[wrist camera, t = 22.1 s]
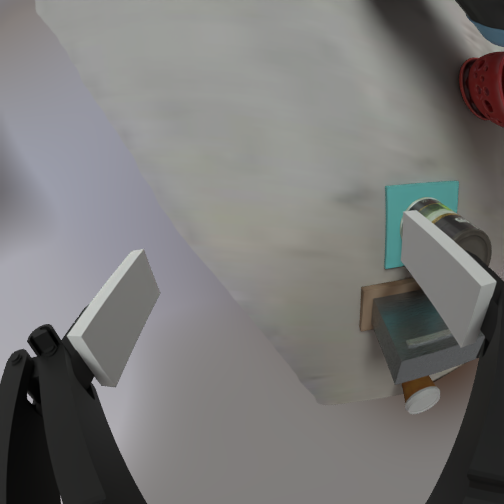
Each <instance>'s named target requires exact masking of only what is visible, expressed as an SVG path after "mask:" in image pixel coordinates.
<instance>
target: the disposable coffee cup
mask: <svg viewBox="0 0 504 504" xmlns="http://www.w3.org/2000/svg"><path fill="white" fill-rule="evenodd" d="M402 388H403V392H404V398H405V403H406V404H405V409H406V410H407V411H408V412H409V413H410V414H418V413H421V412H424V411H426V410H428V409H429V408H431V407H432V406H433V405H435V404H436V403H437V402H438V400H439V398H440V390H439V389H438V388H437V387H436V386H435V385H434V383H433V381H432V380H431V378H430V377H429V375H428V376H425V377H421V378H418V379H414V380H411V381H407V382H404V383H402Z"/></svg>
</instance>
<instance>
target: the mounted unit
mask: <svg viewBox="0 0 504 504" xmlns="http://www.w3.org/2000/svg"><path fill="white" fill-rule="evenodd" d="M359 327H360V330H361V331H366V330H371V329H374V331H375V333H376V336H377V338H378V341H379V343H380V346H381V348H382V351H383V354H384V356H385V359H386V361H387V364H388V367H389V369H390V372H391V375H392V378H393V380H394V383H395V385H396V384H400V383H404V382H407V381H411V380H414V379H418V378H421V377H425V376H428V375H431V374H434V373H437V372H440V371H443V370H446V369H449V368H452V367H455V366H458V365H460V364H463V363H466V362H468V361H471V360H474V359H476V356H477V354H478V352H479V350H480V347H481V345H482V343H483V340H484V338H485V336H484V335H483V333H482V332H481V330H480V333H479V335H478V338H477V340H476V343H473V344H470V345H467V346H465V347H462V348H461V347H460V346H459V344H458V343H457V341H456V339H455V338H454V336H453V334H452V333H451V331H450V330H449V328H448V327H447V325H446V324H445V322H444V320H443V319H442V317H441V316H440V314H439V313H438V311H437V310H436V308H435V307H434V306H433V304H432V303H431V301H430V300H429V298H428V297H427V295H426V294H425V293H424V291H423V290H422V288H421V287H420V286H419V284H418V283H417V282H416V280H415V279H414V278H409V279H404V280H399V281H393V282H388V283H382V284H377V285H371V286H365V287H361V309H360V325H359ZM479 357H480V356H479Z"/></svg>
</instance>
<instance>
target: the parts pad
mask: <svg viewBox="0 0 504 504" xmlns="http://www.w3.org/2000/svg"><path fill="white" fill-rule="evenodd" d="M458 188H459V182H458V181H442V182H428V183H415V184H403V185H392V186H385V193H386V238H385V263H384V267H385V269H389V268H395V267H400V266H405V265H404V264H403V263H402V262H401V251H402V239H401V235H400V223H401V219H402V217H403V212H404V211H406V209H407V208H408V207H409V206H410V205H411V204H412V203H413V202H414V201H416V200H418V199H420V198H424V197H431V198H435V199H437V200H438V201H440V202H441V203H442V204H444V205H445V206H447V207H448V208H449V209H451V210H452V211H454V212H455V213H457V205H458Z"/></svg>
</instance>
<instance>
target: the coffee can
mask: <svg viewBox="0 0 504 504" xmlns="http://www.w3.org/2000/svg"><path fill="white" fill-rule="evenodd" d="M412 210H417V211H418V212H419V213H421V214H422V215H423V216H424V217H426V218H427V219H428V220H429V221H431V222H432V223H433V224H434V225H435V226H437V227H438V228H439V229H440V230H441V231H443V232H444V233H445V234H446V235H447V236H449V237H450V238H451V239H452V240H453V241H454V242H455V243H457V244H458V245H459V246H460V247H461V248H462V249H463V250H464V251H465V250H467V251H469V252H471V253H473V254H475V255H477V256H478V257H479V258H480V259H481V260H482V261H483V263H485V264H486V265H487V266H489V263H490V259H491V242H490V239H489V238H488V236H487V235H486V234H485V233H484V232H483V231H481V230H480V229H477V228H476V227H475V226H474V225H472V224H471V223H469V222H468V221H467V220H465V219H464V218H462V217H461V216H460V215H458V214H457V213H455V212H454V211H452V210H451V209H449V208H448V207H447V206H445V205H444V204H442V203H441V202H440V201H438V200H437V199H435V198H431V197H424V198H420V199H418V200H416V201H414V202H413V203H412V204H411V205H410V206H409V207H408V208H407V209H406V211H412ZM402 233H403V217H402V219H401V223H400V235H401V239H402Z"/></svg>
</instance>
